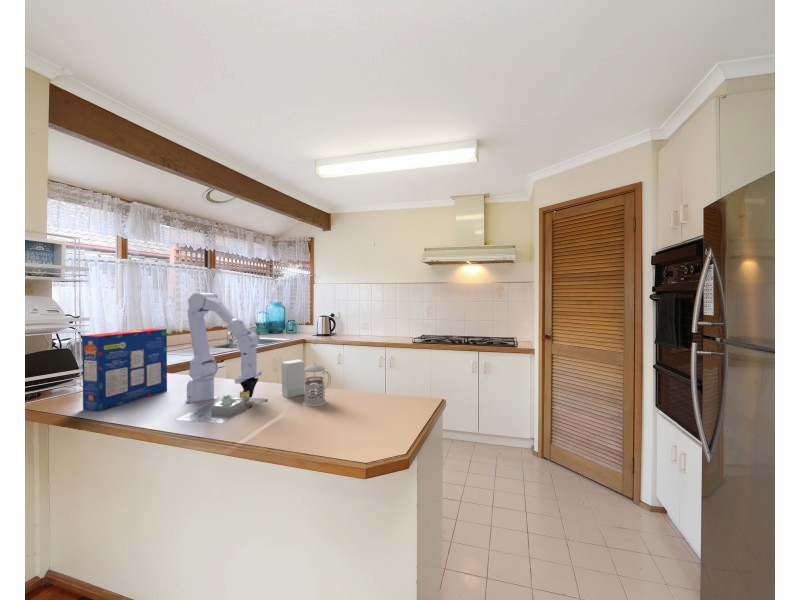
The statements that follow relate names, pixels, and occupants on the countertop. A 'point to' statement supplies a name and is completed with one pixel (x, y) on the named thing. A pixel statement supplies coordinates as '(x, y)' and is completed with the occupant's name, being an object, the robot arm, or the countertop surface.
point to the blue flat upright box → (123, 367)
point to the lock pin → (244, 395)
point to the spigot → (226, 400)
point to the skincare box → (293, 378)
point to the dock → (221, 410)
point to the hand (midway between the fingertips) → (248, 397)
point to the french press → (315, 386)
